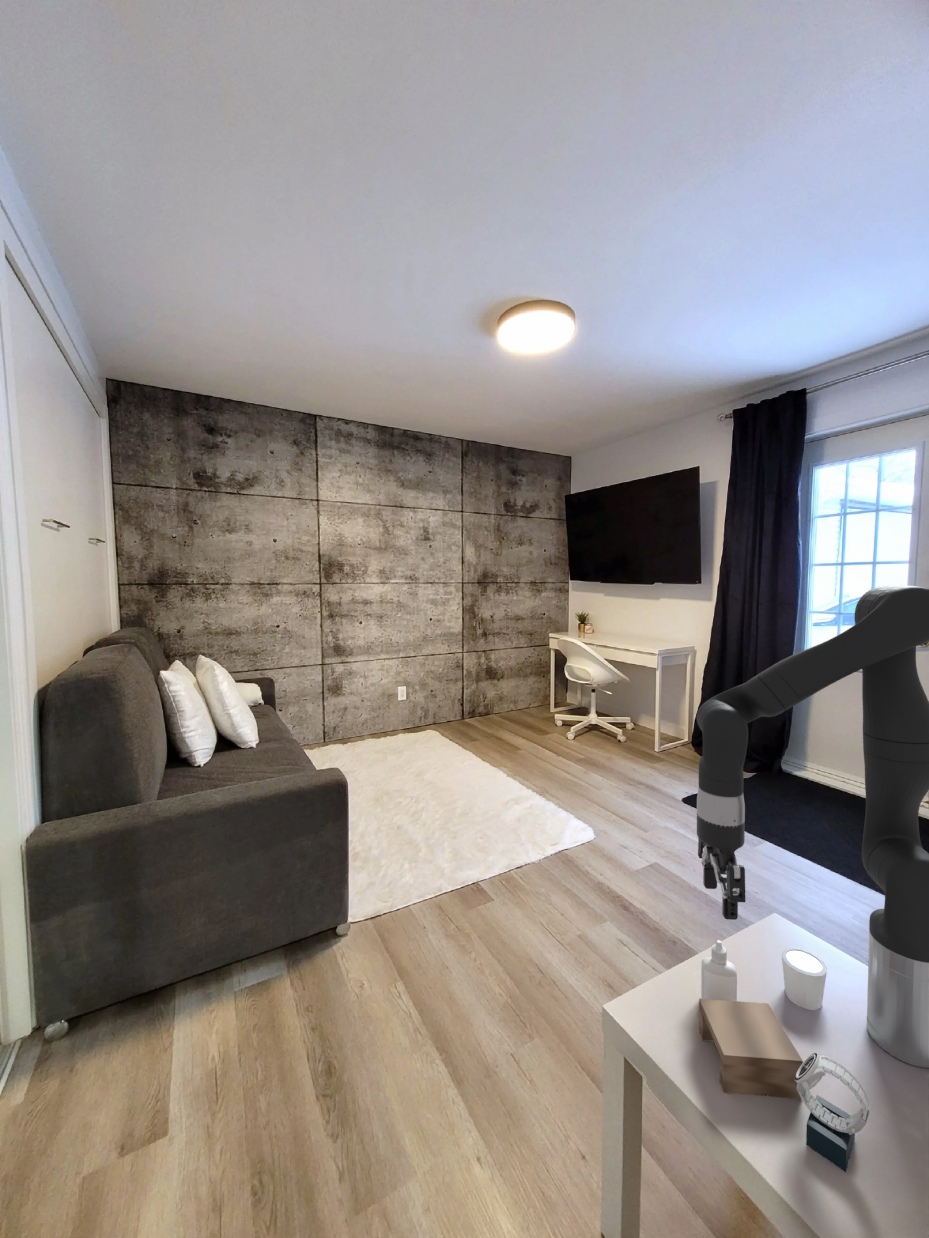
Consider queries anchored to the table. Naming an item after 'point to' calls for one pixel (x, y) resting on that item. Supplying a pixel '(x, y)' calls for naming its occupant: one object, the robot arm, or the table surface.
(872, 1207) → the table surface
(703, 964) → the eye dropper bottle
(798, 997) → the white oval container
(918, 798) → the robot arm
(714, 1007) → the brown wooden block
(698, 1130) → the table surface
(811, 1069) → the watch
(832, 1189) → the table surface
